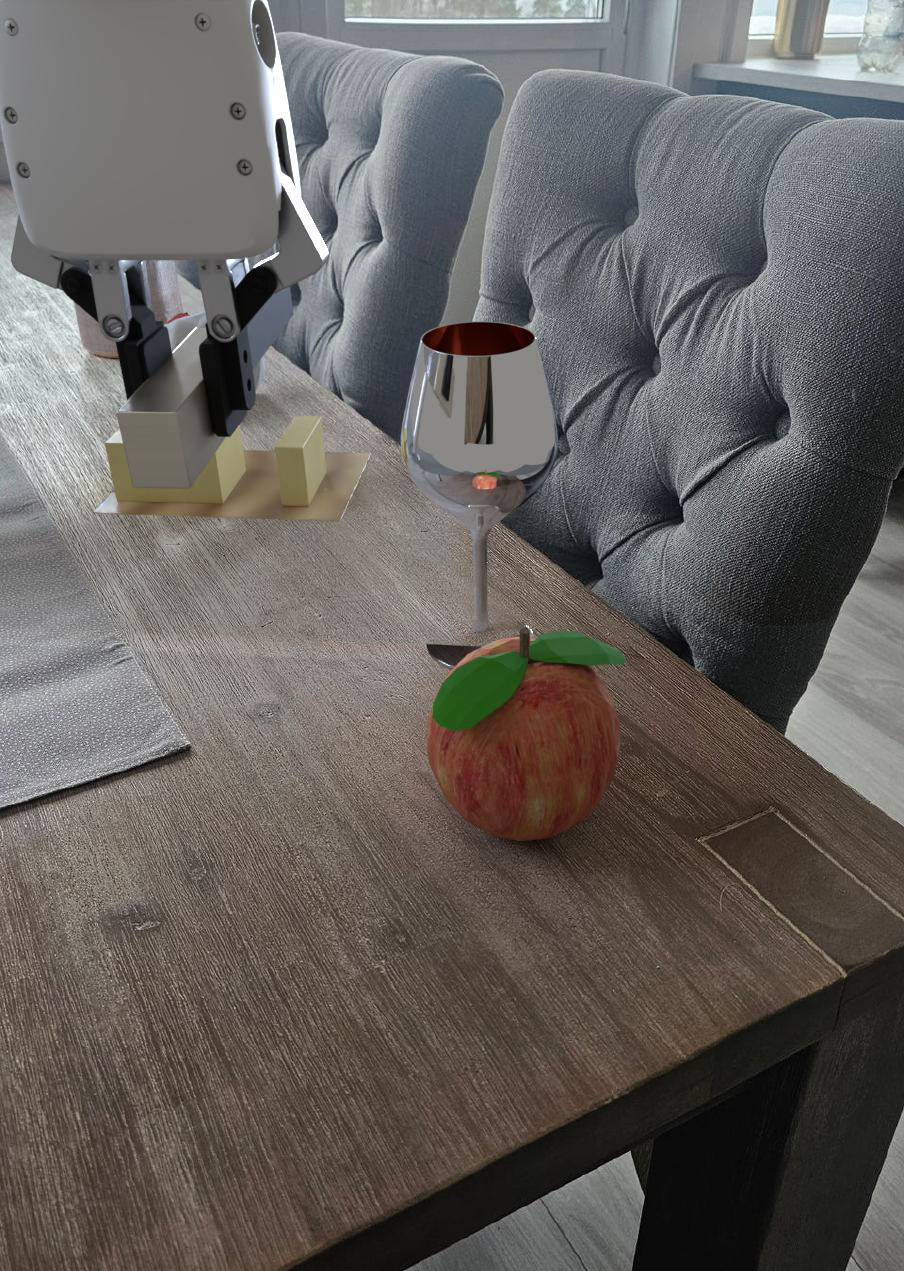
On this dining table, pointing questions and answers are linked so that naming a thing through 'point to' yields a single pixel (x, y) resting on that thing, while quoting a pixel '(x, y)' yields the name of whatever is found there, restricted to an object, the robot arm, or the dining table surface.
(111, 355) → the planter
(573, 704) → the fruit
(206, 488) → the butter block
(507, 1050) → the dining table surface
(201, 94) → the robot arm
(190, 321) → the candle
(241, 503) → the board
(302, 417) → the butter slice
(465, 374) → the wineglass
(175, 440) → the knife
